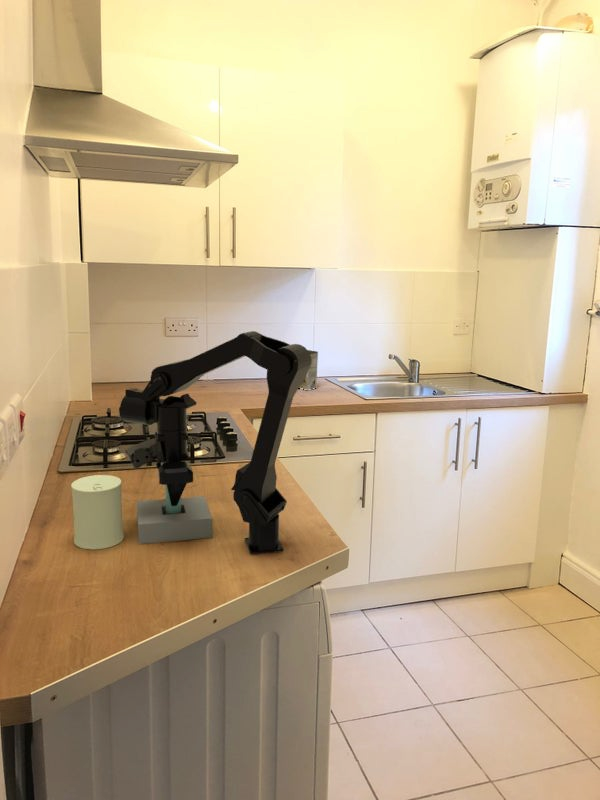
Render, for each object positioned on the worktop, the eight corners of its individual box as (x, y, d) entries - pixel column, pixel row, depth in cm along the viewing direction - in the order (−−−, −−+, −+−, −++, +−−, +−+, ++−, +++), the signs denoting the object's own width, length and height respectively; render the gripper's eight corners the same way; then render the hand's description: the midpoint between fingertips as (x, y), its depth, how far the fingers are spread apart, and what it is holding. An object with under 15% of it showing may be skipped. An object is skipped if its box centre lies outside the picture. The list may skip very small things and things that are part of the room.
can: (76, 553, 119) (72, 491, 116) (72, 533, 127) (68, 475, 124) (127, 545, 122) (125, 485, 120) (120, 526, 130) (117, 470, 128)
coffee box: (290, 388, 271) (291, 349, 267) (300, 385, 275) (301, 348, 272) (307, 391, 265) (308, 352, 261) (317, 389, 270) (318, 350, 266)
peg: (181, 521, 129) (180, 473, 127) (166, 522, 128) (165, 474, 126) (180, 515, 132) (179, 469, 129) (165, 516, 131) (164, 470, 129)
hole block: (212, 537, 126) (212, 518, 125) (139, 544, 123) (138, 524, 122) (204, 513, 138) (204, 496, 137) (137, 519, 134) (136, 501, 133)
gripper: (128, 417, 132) (131, 489, 136) (129, 443, 115) (132, 524, 118) (183, 415, 135) (184, 485, 139) (192, 439, 118) (194, 519, 121)
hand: (173, 502), depth 129 cm, fingers closed on peg, 3 cm apart
